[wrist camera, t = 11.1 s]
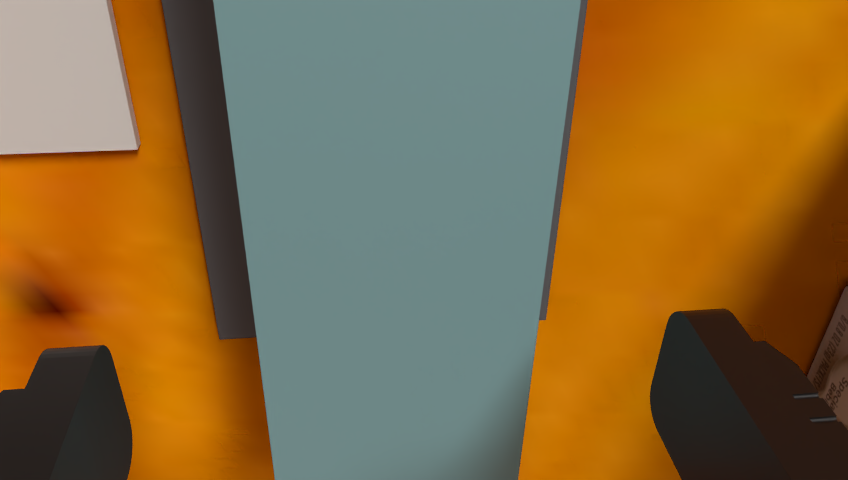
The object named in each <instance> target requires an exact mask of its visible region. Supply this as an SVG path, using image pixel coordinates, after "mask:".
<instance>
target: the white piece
mask: <svg viewBox="0 0 848 480" xmlns="http://www.w3.org/2000/svg"><path fill="white" fill-rule="evenodd" d="M139 145H140V138H139V134H138V129H137V124H136V119H135V114H134V109H133V105H132V100H131V95H130V90H129V85H128V80H127V76H126V71H125V66H124V61H123V56H122V51H121V47H120V42H119V37H118V32H117V27H116V22H115V18H114V13H113V8H112V3H111V0H0V154H26V153H55V152H84V151H113V150H138V148H139Z"/></svg>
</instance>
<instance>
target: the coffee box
mask: <svg viewBox="0 0 848 480" xmlns="http://www.w3.org/2000/svg"><path fill="white" fill-rule="evenodd" d="M807 378H808V379H809V381H810V382H811V383H812V384H813V386H814V387H815V388H816V390H817V391H818V392H819V393H818V396H819V398H823V399H824V400H825V401H826V403H827V404H828V405H829V406H830V408H831V409H832V410H833V412H834V413H835V414H836V415H837V416H836V419H837V421H838V422H842V423H843V424H844V426H845V427H846V428H847V430H848V285H847V286H846V287H845V289H844V291H843V293H842V296H841V298H840V300H839V303H838V305H837V307H836V310H835V312H834V314H833V317H832V319H831V321H830V324H829V326H828V328H827V330H826V333H825V335H824V337H823V340H822V342H821V344H820V347H819V349H818V351H817V354H816V356H815V358H814V361H813V363H812V365H811V368H810V370H809V372H808V375H807Z"/></svg>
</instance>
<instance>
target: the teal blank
mask: <svg viewBox="0 0 848 480" xmlns="http://www.w3.org/2000/svg"><path fill="white" fill-rule="evenodd" d="M213 3H214V10H215V18H216V26H217V34H218V41H219V49H220V57H221V65H222V73H223V80H224V88H225V96H226V104H227V111H228V119H229V127H230V135H231V142H232V150H233V158H234V166H235V173H236V181H237V189H238V197H239V204H240V212H241V220H242V228H243V236H244V243H245V251H246V259H247V267H248V274H249V282H250V290H251V298H252V305H253V313H254V321H255V329H256V336H257V344H258V352H259V360H260V367H261V375H262V383H263V391H264V399H265V406H266V414H267V422H268V430H269V437H270V445H271V453H272V461H273V468H274V476H275V480H518V474H519V467H520V459H521V452H522V444H523V436H524V429H525V421H526V414H527V406H528V398H529V391H530V383H531V376H532V368H533V360H534V353H535V345H536V338H537V330H538V322H539V315H540V307H541V300H542V292H543V284H544V277H545V269H546V262H547V254H548V246H549V239H550V231H551V224H552V216H553V208H554V201H555V193H556V186H557V178H558V170H559V163H560V155H561V148H562V140H563V132H564V125H565V117H566V110H567V102H568V94H569V87H570V79H571V72H572V64H573V56H574V49H575V41H576V33H577V26H578V18H579V11H580V3H581V0H213Z"/></svg>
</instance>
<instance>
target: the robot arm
mask: <svg viewBox="0 0 848 480" xmlns="http://www.w3.org/2000/svg"><path fill="white" fill-rule="evenodd" d="M818 393H819V392H818V391H817V390H816V388H815V387H814V386H813V384H812V383H811V382H810V381H809V379H808V378H807V377H806V375H805V374H804V373H803V372H802V370H801V369H800V368H799V366H798V365H797V364H796V363H794V362H793V361H792V360H790V359H789V358H787V357H786V356H785V355H783V354H782V353H781V352H779V351H778V350H776V349H775V348H774V347H772V346H771V345H770V344H768V343H767V342H765V341H758V342H753V341H752V339H751V338H750V336H749V335H748V334H747V332H746V331H745V330H744V328H743V327H742V326H741V324H740V323H739V321H738V320H737V319H736V317H735V316H734V315H733V314H732V313H731V312H730V311H729V310H726V309H710V310H694V311H678V312H674V313H673V314H672V315H671V316H670V318H669V320H668V322H667V326H666V330H665V334H664V338H663V341H662V345H661V349H660V353H659V357H658V361H657V365H656V369H655V373H654V377H653V380H652V384H651V391H650V404H651V411H652V416H653V420H654V423H655V426H656V428H657V431H658V433H659V435H660V437H661V439H662V441H663V443H664V445H665V447H666V449H667V451H668V453H669V455H670V457H671V459H672V461H673V463H674V465H675V467H676V469H677V471H678V473H679V475H680V477H681V479H682V480H848V430H847V428H846V427H845V426H844V424H843V423H842V422H838V421H837V419H836V416H837V415H836V414H835V413H834V412H833V410H832V409H831V408H830V406H829V405H828V404H827V403H826V401H825V400H824V399H823V398H819V396H818ZM131 458H132V430H131V424H130V419H129V416H128V412H127V409H126V405H125V402H124V398H123V394H122V391H121V387H120V384H119V380H118V377H117V373H116V369H115V366H114V362H113V359H112V356H111V353H110V351H109V349H108V348H107V347H106V346H104V345H99V346H83V347H66V348H50V349H46V350H44V351H43V352H42V354H41V355H40V357H39V359H38V361H37V363H36V365H35V368H34V370H33V372H32V374H31V376H30V379H29V381H28V383H27V385H26V387H25V389H14V390H3V391H2V392H1V393H0V480H127V478H128V474H129V470H130V465H131Z"/></svg>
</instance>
